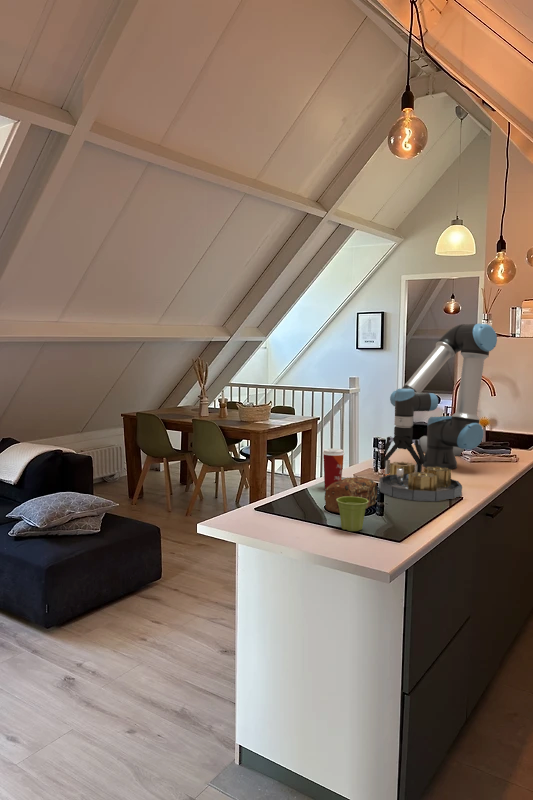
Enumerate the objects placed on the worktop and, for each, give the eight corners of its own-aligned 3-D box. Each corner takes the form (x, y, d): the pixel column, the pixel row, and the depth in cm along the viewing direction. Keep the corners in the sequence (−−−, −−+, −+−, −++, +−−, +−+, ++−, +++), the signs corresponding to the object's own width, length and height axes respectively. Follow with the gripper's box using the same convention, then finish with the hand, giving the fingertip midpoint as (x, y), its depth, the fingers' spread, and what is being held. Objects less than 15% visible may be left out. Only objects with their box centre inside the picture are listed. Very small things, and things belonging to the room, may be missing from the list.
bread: (350, 516, 195) (351, 485, 194) (322, 510, 202) (323, 480, 201) (378, 505, 210) (379, 476, 209) (351, 500, 217) (351, 472, 216)
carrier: (400, 479, 251) (400, 461, 250) (471, 490, 233) (472, 470, 232) (365, 492, 227) (366, 472, 227) (442, 505, 210) (443, 484, 209)
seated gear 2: (430, 480, 240) (430, 465, 239) (453, 484, 234) (454, 468, 233) (419, 484, 232) (420, 469, 232) (444, 488, 226) (445, 472, 226)
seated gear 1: (415, 486, 229) (415, 470, 228) (439, 490, 223) (440, 474, 222) (404, 491, 221) (404, 475, 221) (429, 495, 215) (430, 478, 215)
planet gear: (396, 474, 259) (396, 460, 259) (417, 478, 253) (418, 463, 253) (386, 478, 252) (386, 464, 251) (407, 481, 246) (408, 467, 245)
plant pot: (333, 524, 186) (333, 496, 185) (363, 523, 187) (364, 495, 186) (339, 533, 177) (339, 504, 176) (371, 533, 178) (372, 503, 177)
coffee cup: (342, 492, 227) (343, 452, 226) (320, 490, 229) (321, 451, 228) (344, 487, 235) (345, 448, 234) (323, 485, 237) (323, 447, 236)
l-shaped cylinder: (423, 454, 303) (464, 455, 302) (423, 433, 304) (464, 434, 304) (416, 456, 320) (455, 457, 320) (416, 436, 322) (454, 436, 321)
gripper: (372, 424, 255) (370, 475, 257) (428, 430, 240) (426, 483, 242) (380, 422, 261) (379, 472, 263) (436, 428, 246) (434, 480, 248)
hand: (401, 478), depth 253 cm, fingers open, 12 cm apart
